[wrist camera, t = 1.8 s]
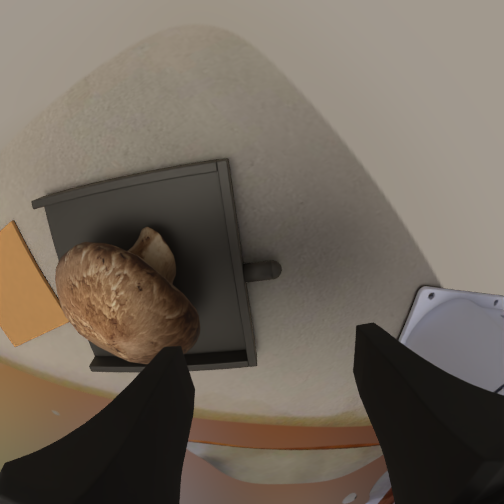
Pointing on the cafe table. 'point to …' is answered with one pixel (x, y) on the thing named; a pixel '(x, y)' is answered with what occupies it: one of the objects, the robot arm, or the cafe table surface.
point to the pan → (173, 250)
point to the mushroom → (126, 298)
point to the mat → (24, 292)
